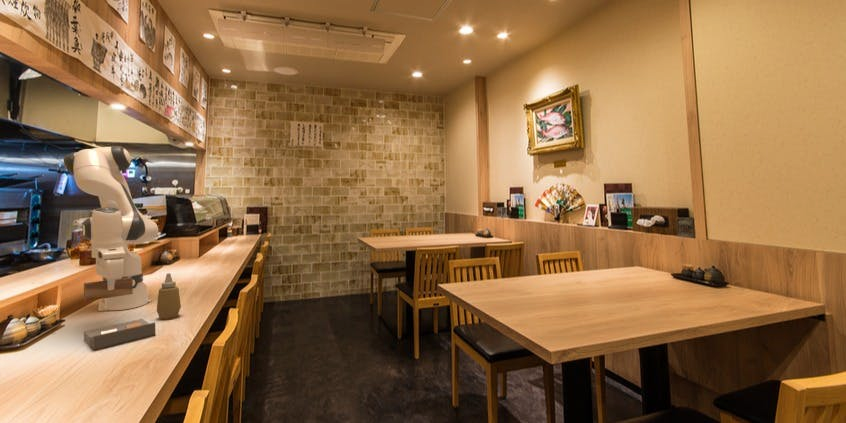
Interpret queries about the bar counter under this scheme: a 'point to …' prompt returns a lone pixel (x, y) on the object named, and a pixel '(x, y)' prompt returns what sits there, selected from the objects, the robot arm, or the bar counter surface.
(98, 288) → the long wooden plank
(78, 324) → the bar counter surface
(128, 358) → the bar counter surface
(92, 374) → the bar counter surface
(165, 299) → the squeeze bottle
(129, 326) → the tile terracotta
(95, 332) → the grey tray with lip
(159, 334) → the bar counter surface
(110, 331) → the tile cream
